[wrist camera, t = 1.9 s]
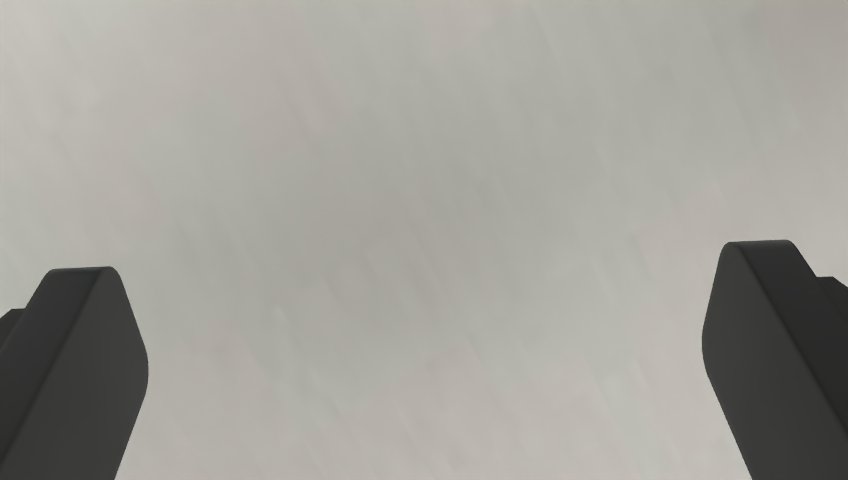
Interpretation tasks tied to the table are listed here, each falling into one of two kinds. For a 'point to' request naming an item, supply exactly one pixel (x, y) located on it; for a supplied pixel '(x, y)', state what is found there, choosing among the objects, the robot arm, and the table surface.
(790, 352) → the robot arm
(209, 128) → the table surface
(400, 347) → the table surface
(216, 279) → the table surface
